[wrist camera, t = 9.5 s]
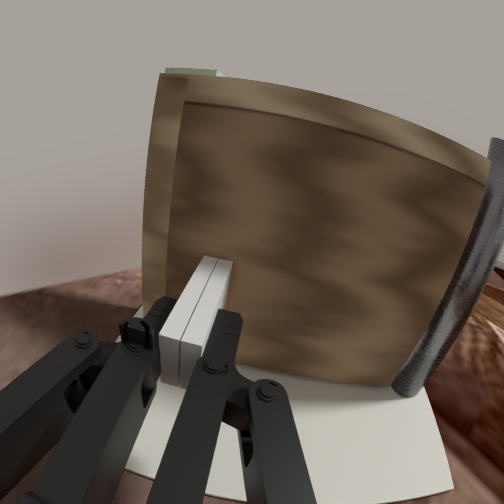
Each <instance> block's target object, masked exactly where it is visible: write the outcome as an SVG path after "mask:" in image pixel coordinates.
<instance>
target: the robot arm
mask: <svg viewBox="0 0 504 504" xmlns="http://www.w3.org/2000/svg"><path fill="white" fill-rule="evenodd" d="M232 265H233V262H232V261H228V260H223V259H219V260H218V258H214V257H209V256H205V255H204V257H203V258H202V260H201V262H200V263H199V265H198V267H197V269H196V270H195V272H194V274H193V275H192V277H191V279H190V280H189V282H188V284H187V286H186V287H185V289H184V291H183V292H182V294H181V296H180V298H179V299H174V298H170V297H167V296H163V297H161V298H159V299H158V300H156V301H155V302H154V304H153V305H152V307H151V309H150V310H149V311H148V313H147V314H146V316H145V317H144V319H143V318H138V317H132V318H127V319H125V320H123V321H122V322H120V323H119V328H120V336H121V341H120V342H104V341H100V339H99V336H98V335H97V334H96V333H95V332H92V331H90V330H81V331H77V332H75V333H73V334H72V335H70V336H69V337H68V338H67V339H65V340H64V341H63V342H61V343H60V344H59V345H57V346H56V347H55V348H53V349H52V350H51V351H50V352H48V353H47V354H46V355H44V356H43V357H42V358H41V359H39V360H38V361H37V362H36V363H34V364H33V365H32V366H31V367H29V368H28V369H27V370H26V371H24V372H23V373H22V374H21V375H19V376H18V377H17V378H16V379H14V380H13V381H12V382H11V383H10V384H8V385H7V386H6V387H5V388H3V389H2V390H1V391H0V500H1V499H2V498H4V497H5V496H6V495H7V494H8V493H9V492H10V491H11V490H12V489H13V488H14V487H15V486H16V485H17V484H18V483H19V481H20V480H21V479H22V478H23V477H24V476H25V475H26V474H27V473H28V472H29V471H30V470H31V469H32V468H33V467H34V466H35V465H36V464H37V463H38V462H39V461H40V460H41V459H42V458H43V457H44V456H45V455H46V454H47V453H48V452H49V451H50V450H51V449H52V448H53V446H54V445H55V444H56V443H57V442H58V441H59V440H60V439H61V440H60V441H59V443H58V445H57V447H56V449H55V450H54V452H53V454H52V456H51V458H50V460H49V462H48V464H47V465H46V467H45V469H44V471H43V473H42V475H41V477H40V479H39V481H38V483H37V485H36V487H35V488H34V489H33V490H32V491H29V492H25V493H23V494H22V495H21V496H20V497H19V498H18V500H17V502H16V504H111V503H112V500H113V497H114V495H115V492H116V489H117V487H118V484H119V482H120V479H121V477H122V474H123V471H124V469H125V466H126V464H127V461H128V459H129V456H130V454H131V451H132V449H133V446H134V444H135V442H136V439H137V437H138V434H139V432H140V429H141V427H142V425H143V422H144V420H145V417H146V415H147V413H148V410H149V408H150V406H151V403H152V401H153V399H154V396H155V394H156V390H157V381H158V378H159V376H160V380H161V382H162V383H166V384H169V385H172V386H176V387H179V384H180V388H183V389H186V392H185V394H184V397H183V400H182V403H181V405H180V408H179V411H178V414H177V417H176V419H175V422H174V425H173V428H172V431H171V433H170V436H169V439H168V442H167V445H166V447H165V450H164V453H163V456H162V459H161V462H160V465H159V467H158V470H157V473H156V476H155V479H154V482H153V485H152V488H151V490H150V493H149V496H148V499H147V502H146V504H203V499H204V495H205V491H206V487H207V482H208V478H209V474H210V470H211V465H212V461H213V457H214V452H215V448H216V444H217V440H218V435H219V431H220V427H221V422H224V423H226V424H228V425H229V426H231V427H233V428H235V429H237V433H238V441H239V449H240V456H241V464H242V471H243V479H244V486H245V493H246V500H247V504H317V501H316V498H315V494H314V490H313V487H312V483H311V479H310V476H309V472H308V468H307V465H306V461H305V457H304V454H303V450H302V446H301V443H300V439H299V435H298V432H297V428H296V424H295V421H294V417H293V413H292V409H291V406H290V402H289V398H288V395H287V392H286V390H285V388H284V387H283V386H282V385H281V384H280V383H279V382H276V381H274V380H271V379H260V380H257V381H255V382H254V381H251V380H249V379H247V378H246V377H244V376H242V375H241V374H240V373H239V372H238V370H237V369H236V366H235V358H236V353H237V348H238V344H239V339H240V334H241V330H242V325H243V319H242V317H241V314H240V313H237V312H232V311H228V310H224V308H225V305H226V300H227V294H228V288H229V282H230V276H231V271H232Z"/></svg>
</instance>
